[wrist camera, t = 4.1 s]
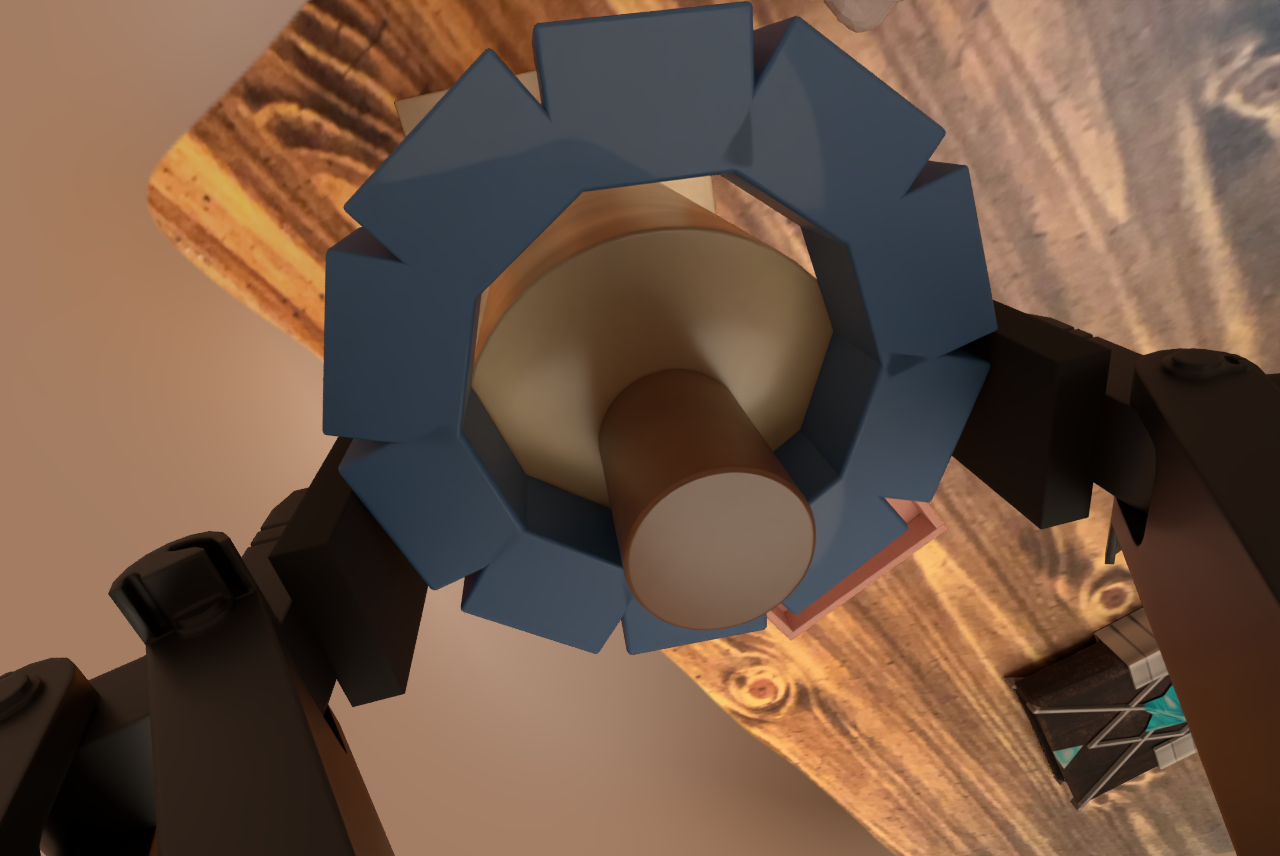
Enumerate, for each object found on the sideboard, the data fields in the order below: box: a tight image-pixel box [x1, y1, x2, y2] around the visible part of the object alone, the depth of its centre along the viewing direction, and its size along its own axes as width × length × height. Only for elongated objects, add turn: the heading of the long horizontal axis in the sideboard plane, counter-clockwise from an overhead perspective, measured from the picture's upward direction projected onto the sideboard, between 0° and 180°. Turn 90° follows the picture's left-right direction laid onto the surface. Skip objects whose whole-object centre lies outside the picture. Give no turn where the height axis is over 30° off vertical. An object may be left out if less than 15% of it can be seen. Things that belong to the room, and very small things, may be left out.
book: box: [1005, 608, 1198, 811], centre depth 56 cm, size 22×17×5 cm
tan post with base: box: [394, 70, 833, 630], centre depth 22 cm, size 14×14×30 cm
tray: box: [767, 498, 947, 640], centre depth 44 cm, size 15×13×2 cm
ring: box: [323, 1, 998, 655], centre depth 10 cm, size 9×10×2 cm
